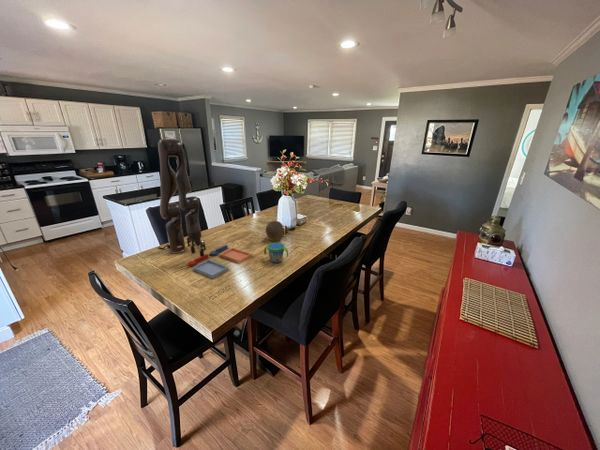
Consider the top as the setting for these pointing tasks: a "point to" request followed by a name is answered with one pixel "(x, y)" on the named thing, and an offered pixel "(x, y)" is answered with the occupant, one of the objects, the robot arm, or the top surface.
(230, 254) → the red tray
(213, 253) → the blue spoon
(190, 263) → the red spoon
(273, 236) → the brown ball
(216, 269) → the blue tray
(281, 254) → the snack cup
